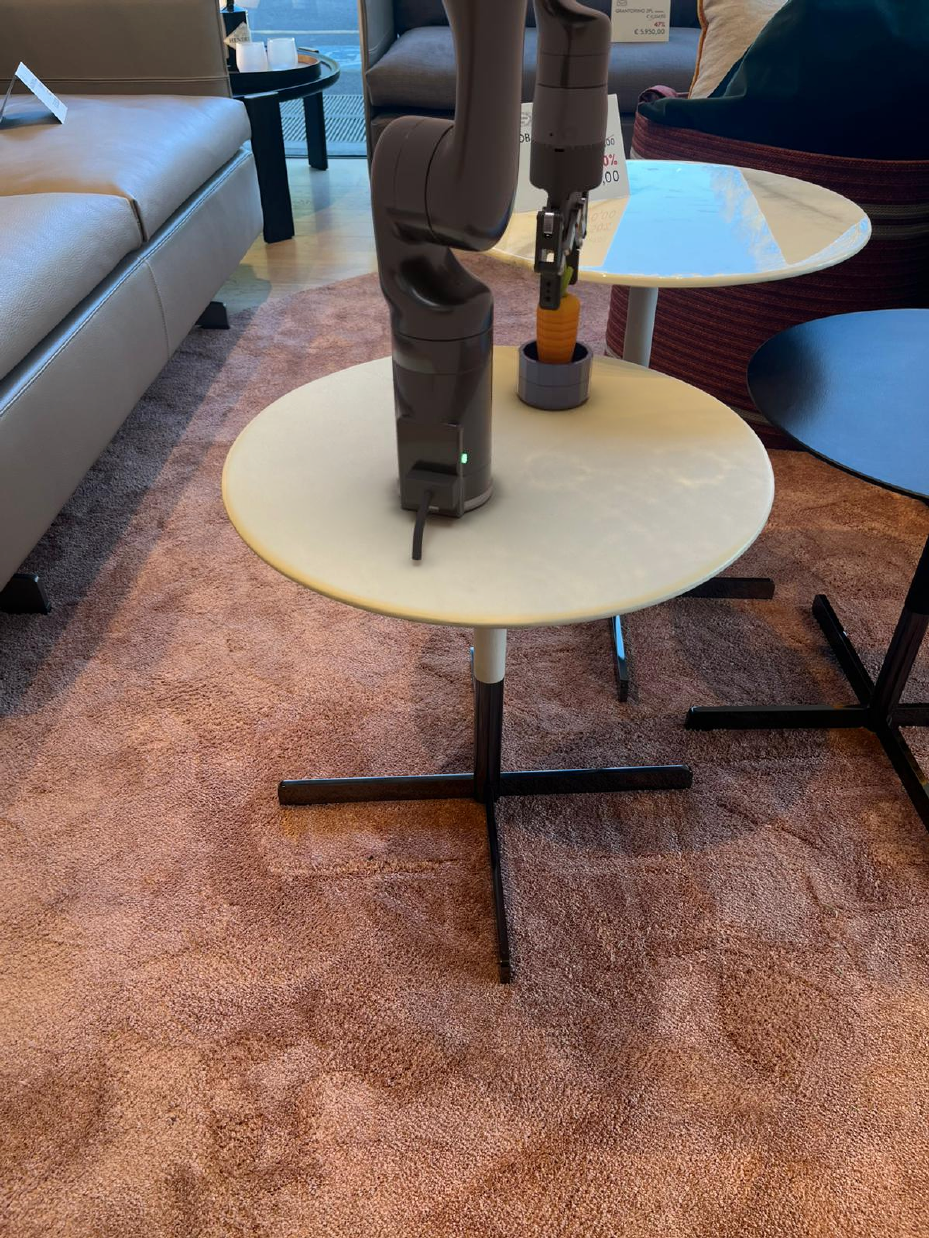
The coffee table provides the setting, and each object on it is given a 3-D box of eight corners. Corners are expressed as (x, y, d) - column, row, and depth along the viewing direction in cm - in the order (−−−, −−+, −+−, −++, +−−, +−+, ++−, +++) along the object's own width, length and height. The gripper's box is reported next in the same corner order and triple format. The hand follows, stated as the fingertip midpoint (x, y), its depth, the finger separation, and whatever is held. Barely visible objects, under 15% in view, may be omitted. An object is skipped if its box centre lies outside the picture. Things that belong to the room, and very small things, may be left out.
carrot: (559, 403, 107) (568, 272, 98) (524, 392, 109) (529, 263, 100) (582, 389, 110) (592, 260, 101) (547, 378, 112) (554, 251, 103)
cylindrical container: (580, 415, 106) (584, 370, 102) (508, 405, 108) (509, 360, 105) (595, 385, 112) (599, 341, 109) (527, 376, 114) (529, 333, 111)
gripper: (549, 119, 99) (541, 273, 109) (513, 146, 88) (508, 314, 98) (618, 123, 97) (604, 279, 107) (590, 152, 86) (577, 322, 97)
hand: (558, 296), depth 103 cm, fingers open, 8 cm apart
